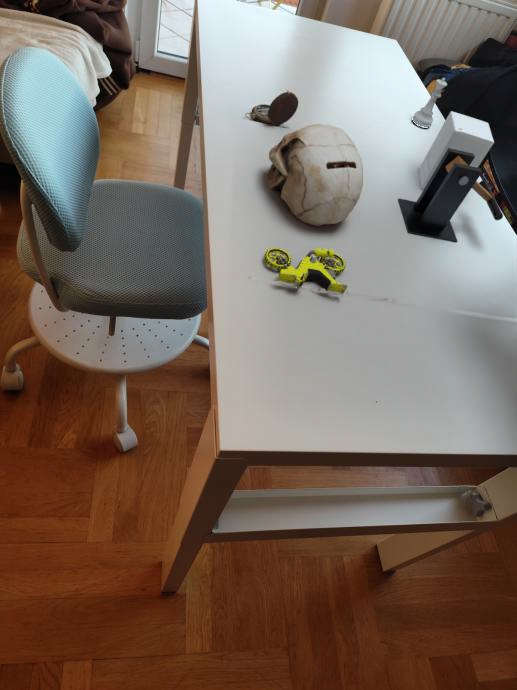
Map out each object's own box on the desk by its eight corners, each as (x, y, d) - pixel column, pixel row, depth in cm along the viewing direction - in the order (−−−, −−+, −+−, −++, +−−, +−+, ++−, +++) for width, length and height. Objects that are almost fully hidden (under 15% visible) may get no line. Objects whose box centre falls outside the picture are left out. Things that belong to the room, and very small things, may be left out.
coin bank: (285, 155, 86) (314, 85, 76) (361, 214, 84) (402, 150, 73) (231, 190, 78) (255, 116, 67) (315, 257, 75) (354, 192, 65)
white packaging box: (454, 205, 90) (495, 143, 80) (417, 193, 90) (454, 129, 80) (451, 183, 95) (489, 122, 85) (415, 171, 94) (450, 109, 85)
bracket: (441, 213, 87) (482, 149, 78) (453, 247, 82) (500, 182, 72) (395, 204, 86) (431, 137, 76) (405, 237, 80) (445, 170, 70)
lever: (478, 190, 84) (491, 180, 82) (494, 224, 78) (508, 214, 77) (439, 154, 78) (452, 143, 77) (454, 187, 73) (468, 176, 71)
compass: (270, 108, 96) (280, 70, 90) (292, 130, 93) (303, 92, 87) (236, 111, 92) (244, 72, 87) (258, 135, 89) (267, 95, 83)
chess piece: (413, 126, 106) (437, 80, 98) (409, 116, 109) (432, 70, 101) (431, 131, 107) (456, 85, 99) (427, 120, 109) (451, 75, 102)
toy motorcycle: (346, 244, 69) (358, 281, 65) (337, 263, 72) (348, 299, 68) (266, 237, 66) (273, 275, 62) (259, 257, 69) (266, 295, 65)
